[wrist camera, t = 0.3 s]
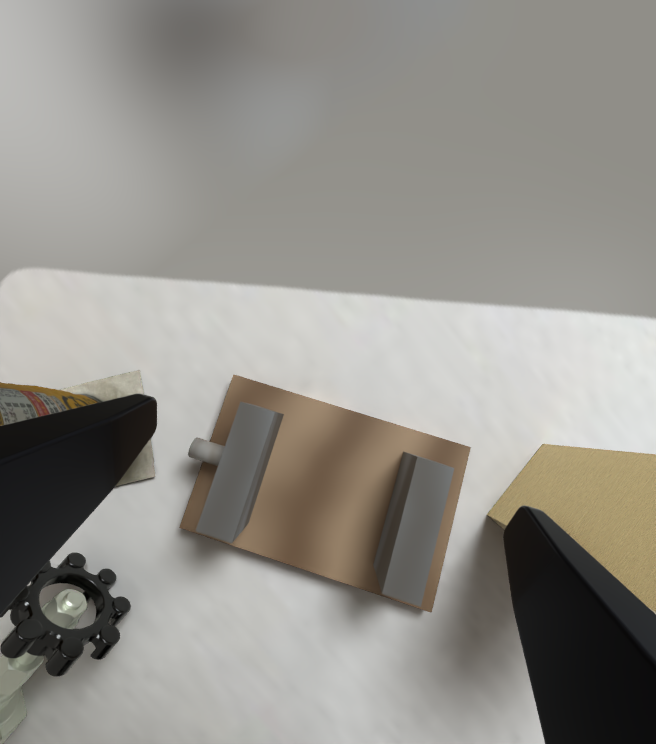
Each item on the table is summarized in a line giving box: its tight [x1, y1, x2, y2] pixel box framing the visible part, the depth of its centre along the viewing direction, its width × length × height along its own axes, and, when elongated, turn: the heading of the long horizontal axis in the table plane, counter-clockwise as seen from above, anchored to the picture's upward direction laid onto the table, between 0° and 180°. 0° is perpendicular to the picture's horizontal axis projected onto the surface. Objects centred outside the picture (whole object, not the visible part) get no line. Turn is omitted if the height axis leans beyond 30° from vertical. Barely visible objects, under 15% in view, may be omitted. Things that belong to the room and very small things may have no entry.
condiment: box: [0, 370, 155, 486], centre depth 17 cm, size 7×8×12 cm
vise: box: [179, 375, 471, 612], centre depth 20 cm, size 16×10×4 cm, turn 73°
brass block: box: [487, 444, 656, 614], centre depth 16 cm, size 6×5×12 cm
